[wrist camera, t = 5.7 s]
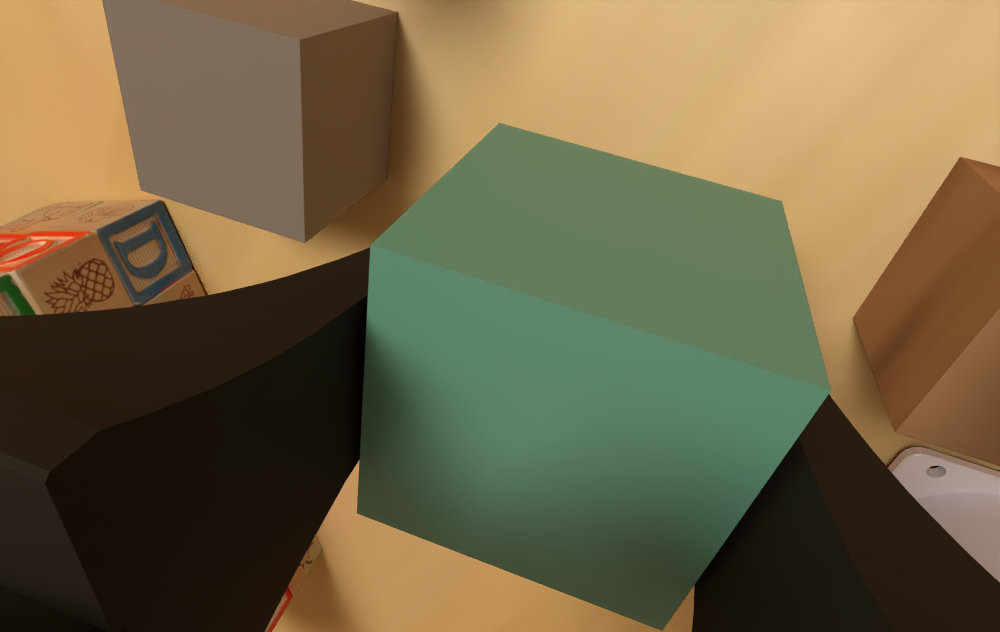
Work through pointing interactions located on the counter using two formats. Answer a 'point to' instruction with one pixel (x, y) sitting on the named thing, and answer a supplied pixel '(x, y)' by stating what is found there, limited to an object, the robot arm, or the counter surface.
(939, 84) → the counter surface
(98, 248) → the stack of blocks
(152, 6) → the gray block
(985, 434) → the walnut block
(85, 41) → the counter surface
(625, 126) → the counter surface
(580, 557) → the muted green block
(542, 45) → the counter surface
